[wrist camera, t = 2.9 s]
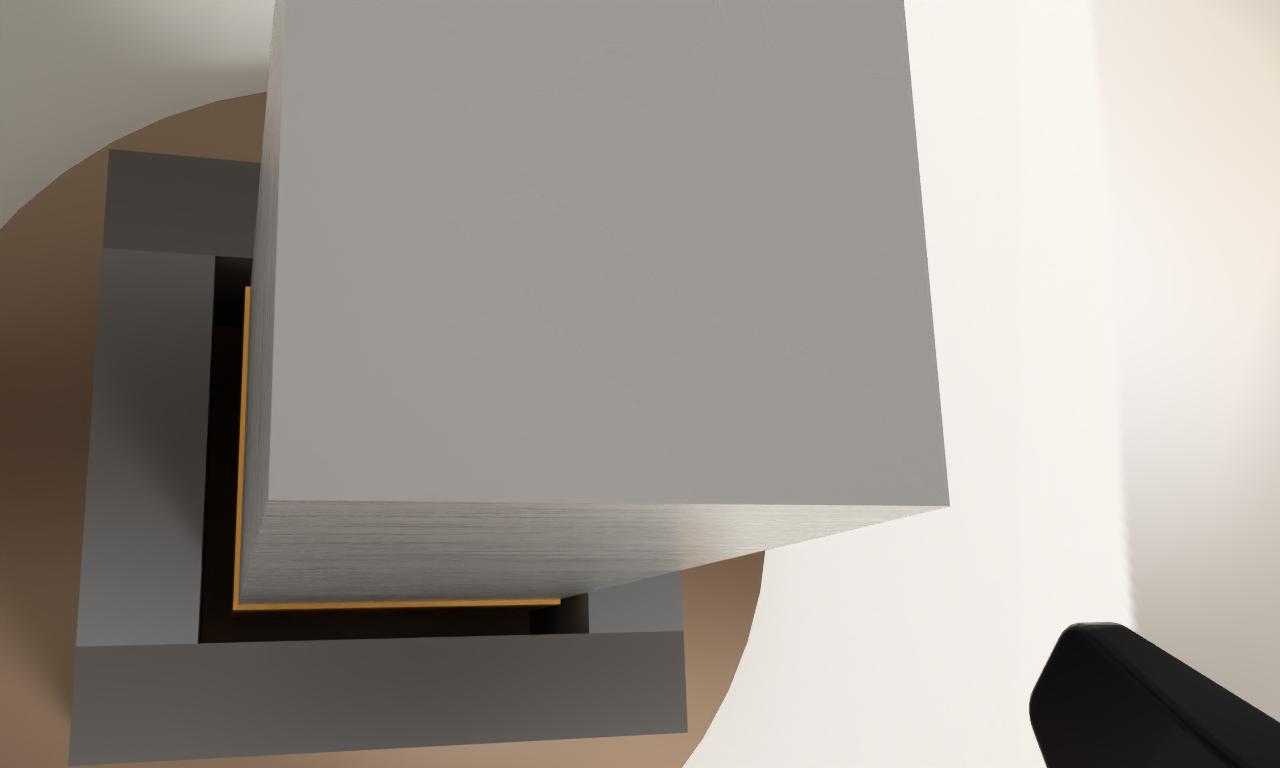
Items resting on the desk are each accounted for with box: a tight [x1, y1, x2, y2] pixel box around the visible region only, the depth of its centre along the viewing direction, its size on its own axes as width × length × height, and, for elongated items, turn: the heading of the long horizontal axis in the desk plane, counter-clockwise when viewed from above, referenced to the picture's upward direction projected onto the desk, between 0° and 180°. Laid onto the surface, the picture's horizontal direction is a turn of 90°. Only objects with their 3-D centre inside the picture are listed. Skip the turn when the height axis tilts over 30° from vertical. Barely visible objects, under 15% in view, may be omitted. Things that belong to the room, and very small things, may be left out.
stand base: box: [0, 92, 765, 768], centre depth 16 cm, size 12×12×4 cm
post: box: [231, 0, 950, 617], centre depth 12 cm, size 4×4×11 cm
